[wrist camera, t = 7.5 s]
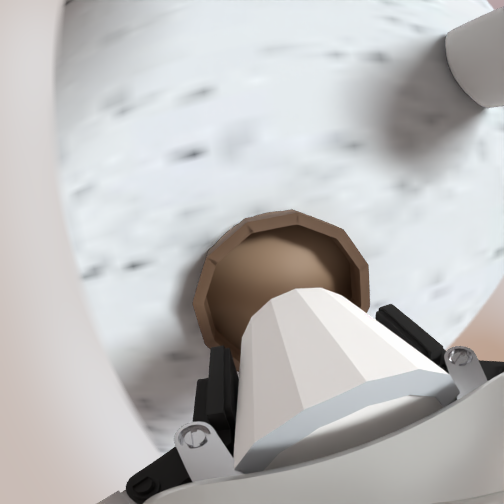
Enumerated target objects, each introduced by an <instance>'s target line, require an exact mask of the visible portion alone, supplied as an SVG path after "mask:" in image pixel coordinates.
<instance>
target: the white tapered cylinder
mask: <svg viewBox="0 0 504 504" xmlns="http://www.w3.org/2000/svg"><path fill="white" fill-rule="evenodd" d="M459 393H460V391H459V389H458V388H457V386H456V384H455V383H454V381H453V379H452V378H451V376H450V374H448V373H447V372H446V371H444V370H443V369H442V368H440V367H439V366H438V365H436V364H435V363H434V362H432V361H431V360H430V359H428V358H427V357H426V356H424V355H423V354H421V353H420V352H419V351H417V350H416V349H415V348H413V347H412V346H411V345H409V344H408V343H407V342H405V341H404V340H403V339H401V338H400V337H398V336H397V335H396V334H394V333H393V332H392V331H390V330H389V329H388V328H386V327H385V326H383V325H382V324H381V323H379V322H378V321H377V320H375V319H374V318H372V317H371V316H370V315H368V314H367V313H366V312H364V311H363V310H361V309H360V308H359V307H357V306H356V305H354V304H353V303H352V302H350V301H349V300H347V299H346V298H345V297H343V296H342V295H339V294H337V293H334V292H331V291H329V290H326V289H323V288H300V289H294V290H291V291H289V292H287V293H284V294H282V295H279V296H277V297H275V298H272V299H270V300H269V301H268V302H267V303H266V304H265V305H264V306H263V307H262V308H261V309H260V310H259V311H257V312H256V313H255V314H254V315H253V316H252V317H251V319H250V322H249V324H248V326H247V328H246V330H245V332H244V334H243V337H242V343H241V357H240V370H239V385H238V399H237V413H236V427H235V442H234V457H233V458H234V470H242V471H243V473H244V474H248V473H254V472H260V471H266V470H271V469H276V468H281V467H286V466H290V465H295V464H299V463H303V462H307V461H311V460H315V459H319V458H322V457H326V456H329V455H332V454H336V453H339V452H342V451H345V450H348V449H351V448H354V447H357V446H360V445H363V444H365V443H368V442H371V441H373V440H376V439H378V438H381V437H383V436H386V435H388V434H391V433H393V432H395V431H398V430H400V429H402V428H404V427H406V426H409V425H411V424H413V423H415V422H417V421H419V420H421V419H423V418H425V417H427V416H429V415H431V414H433V413H435V412H437V411H439V410H440V409H442V408H444V407H446V406H448V405H449V404H451V403H453V402H455V399H456V396H457V395H458V394H459Z"/></svg>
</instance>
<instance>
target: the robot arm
mask: <svg viewBox="0 0 504 504" xmlns="http://www.w3.org/2000/svg"><path fill="white" fill-rule="evenodd" d="M376 320H377V321H378V322H379V323H381V324H382V325H383V326H385V327H386V328H388V329H389V330H390V331H392V332H393V333H394V334H396V335H397V336H398V337H400V338H401V339H403V340H404V341H405V342H407V343H408V344H409V345H411V346H412V347H413V348H415V349H416V350H417V351H419V352H420V353H421V354H423V355H424V356H426V357H427V358H428V359H430V360H431V361H432V362H434V363H435V364H436V365H438V366H439V367H440V368H442V369H443V370H444V371H446V372H447V373H448V374H450V376H451V378H452V379H453V381H454V383H455V384H456V386H457V388H458V389H459V391H460V393H459V394H458V395H457V396H456V399H455V402H453V403H451V404H449V405H448V406H446V407H444V408H442V409H440V410H439V411H437V412H435V413H433V414H431V415H429V416H427V417H425V418H423V419H421V420H419V421H417V422H415V423H413V424H411V425H409V426H406V427H404V428H402V429H400V430H398V431H395V432H393V433H391V434H388V435H386V436H383V437H381V438H378V439H376V440H373V441H371V442H368V443H365V444H363V445H360V446H357V447H354V448H351V449H348V450H345V451H342V452H339V453H336V454H332V455H329V456H326V457H322V458H319V459H315V460H311V461H307V462H303V463H299V464H295V465H290V466H286V467H281V468H276V469H271V470H266V471H260V472H254V473H248V474H244V473H243V471H242V470H234V458H233V457H234V442H235V427H236V413H237V399H238V385H239V378H238V374H237V371H236V367H235V364H234V360H233V357H232V353H231V350H230V348H225V346H224V345H223V346H217V347H211V353H210V366H209V378H206V379H199V380H198V381H197V388H196V397H195V406H194V415H193V422H191V423H187V424H185V425H184V426H182V427H181V428H179V429H178V430H177V432H176V433H175V436H174V443H175V446H176V447H174V448H173V449H171V450H170V451H169V452H167V453H166V454H164V455H163V456H162V457H160V458H159V459H157V460H156V461H154V462H153V463H152V464H150V465H148V466H147V467H145V468H144V469H142V470H141V471H139V472H138V473H136V474H135V475H134V476H132V477H131V478H130V479H129V481H128V482H127V485H126V490H124V491H123V492H121V493H120V492H119V491H117V492H115V493H114V494H112V495H110V496H109V497H107V498H106V499H104V500H102V501H100V502H99V503H97V504H504V362H496V361H480V360H478V359H477V356H476V354H475V353H474V351H472V350H471V349H470V348H467V347H463V346H456V347H452V348H450V349H448V350H447V351H445V350H444V349H443V346H442V345H441V344H440V343H438V342H437V341H436V340H435V339H434V338H433V337H431V336H430V335H429V334H428V333H427V332H425V331H424V330H423V329H422V328H421V327H419V326H418V325H417V324H416V323H415V322H413V321H412V320H411V319H410V318H408V317H407V316H406V315H405V314H404V313H402V312H401V311H400V310H399V309H397V308H396V307H395V306H394V305H392V304H389V305H386V306H383V307H380V308H379V311H377V312H376Z"/></svg>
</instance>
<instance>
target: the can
mask: <svg viewBox="0 0 504 504" xmlns="http://www.w3.org/2000/svg"><path fill="white" fill-rule="evenodd" d="M445 45H446V57H447V61H448V65H449V67H450V70H451V72H452V74H453V76H454V78H455V79H456V81H457V83H458V84H459V86H460V87H461V88H462V89H463V90H464V92H465V93H466V94H468V95H469V96H470V97H471V99H473V100H474V101H475V102H476V103H478V104H479V105H480V106H483V107H486V108H492V107H499V106H504V7H501V8H499V9H496V10H494V11H492V12H489V13H487V14H485V15H482V16H480V17H478V18H476V19H474V20H472V21H469V22H467V23H465V24H463V25H461V26H459V27H457V28H455V29H453V30H451V31H450V32H448V34H447V36H446V39H445Z"/></svg>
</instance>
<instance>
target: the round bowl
mask: <svg viewBox="0 0 504 504" xmlns="http://www.w3.org/2000/svg"><path fill="white" fill-rule="evenodd" d="M300 288H323V289H326V290H329V291H331V292H334V293H337V294H339V295H342V296H343V297H345V298H346V299H347V300H349V301H350V302H352V303H353V304H354V305H356V306H357V307H359V308H360V309H361V310H363V311H364V312H366V313H367V311H368V309H369V307H370V290H369V267H368V264H367V262H366V261H365V259H364V258H363V256H362V255H361V254H360V252H359V251H358V249H357V248H356V246H355V245H354V243H353V242H352V241H351V239H350V238H349V236H348V235H347V234H346V232H345V231H344V230H343V229H341V228H339V227H337V226H335V225H332V224H330V223H327V222H325V221H322V220H319V219H317V218H314V217H312V216H309V215H306V214H303V213H301V212H298V211H295V210H293V209H291V210H286V211H276V212H268V213H264V214H260V215H256V216H254V217H250V218H245V219H243V220H242V221H241V222H240V223H239V224H237V225H236V226H234V227H233V228H232V229H230V230H229V231H228V232H226V233H225V234H224V235H223V236H222V237H221V238H220V239H219V240H218V242H217V243H216V244H215V245H214V246H213V247H212V248H210V249H209V250H208V253H207V256H206V259H205V262H204V266H203V269H202V272H201V275H200V279H199V282H198V285H197V289H196V292H195V296H194V299H193V307H194V310H195V314H196V317H197V320H198V324H199V327H200V330H201V333H202V337H203V340H204V343H205V345H206V346H207V347H209V348H210V349H211V347H217V346H223V345H224V346H225V348H230V350H231V353H232V357H233V360H234V364H235V367H236V371H238V372H239V370H240V357H241V343H242V337H243V334H244V332H245V330H246V328H247V326H248V324H249V322H250V319H251V317H252V316H253V315H254V314H255V313H256V312H257V311H259V310H260V309H261V308H262V307H263V306H264V305H265V304H266V303H267V302H268V301H269V300H270V299H272V298H275V297H277V296H279V295H282V294H284V293H287V292H289V291H291V290H294V289H300Z"/></svg>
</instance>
